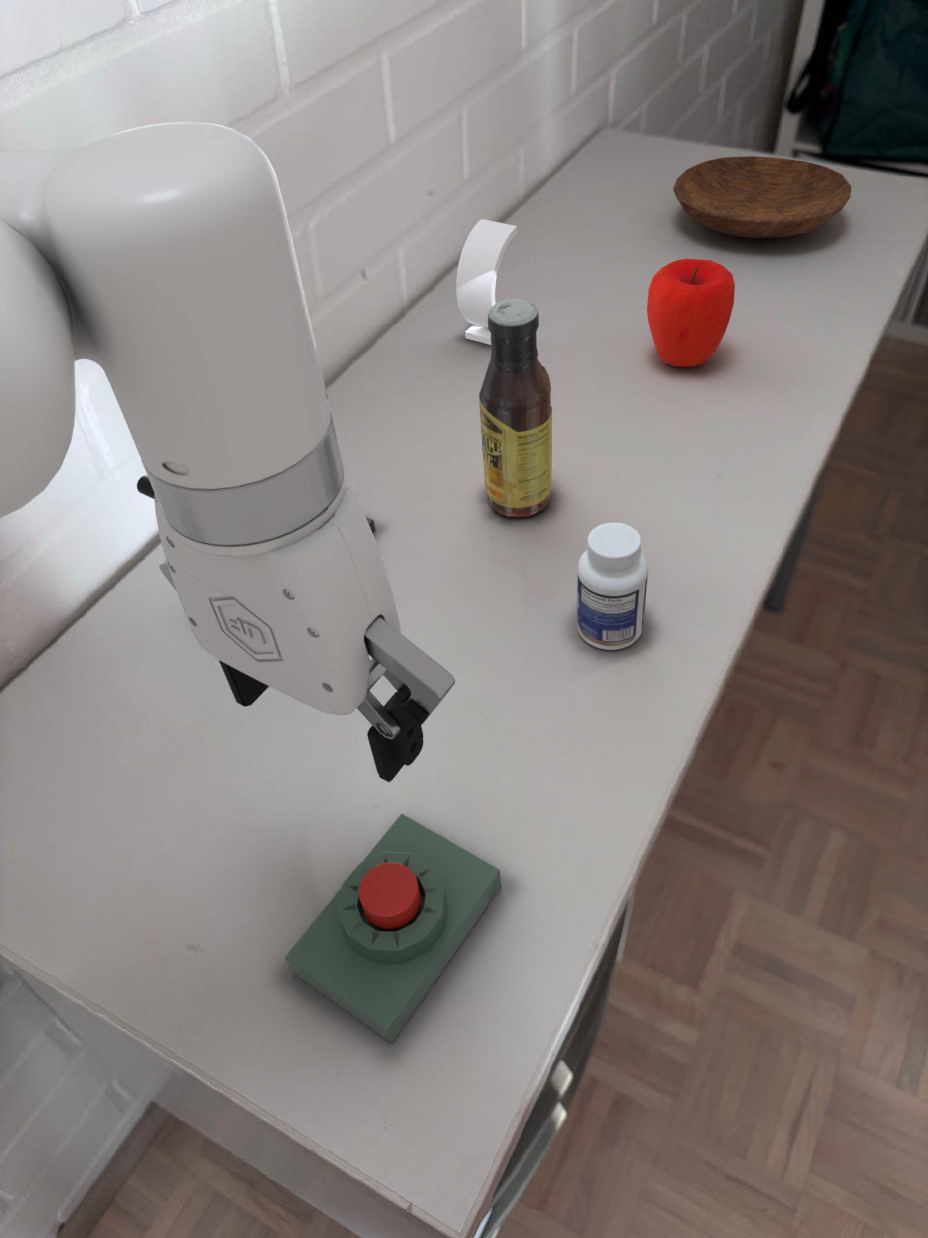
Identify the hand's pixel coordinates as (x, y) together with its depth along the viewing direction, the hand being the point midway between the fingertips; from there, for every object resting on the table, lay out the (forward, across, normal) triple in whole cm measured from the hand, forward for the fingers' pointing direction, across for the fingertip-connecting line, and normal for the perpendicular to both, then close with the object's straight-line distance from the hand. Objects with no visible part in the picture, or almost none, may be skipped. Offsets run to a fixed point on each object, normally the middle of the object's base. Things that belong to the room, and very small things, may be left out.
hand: (328, 722), depth 51 cm
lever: (+6, -26, +18) cm, 32 cm away
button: (+14, +3, -2) cm, 15 cm away
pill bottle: (+18, +3, +28) cm, 33 cm away
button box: (+18, +3, -2) cm, 18 cm away
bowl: (+19, -13, +101) cm, 104 cm away
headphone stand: (+18, -30, +63) cm, 72 cm away
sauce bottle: (+18, -12, +38) cm, 44 cm away
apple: (+18, -8, +67) cm, 70 cm away
